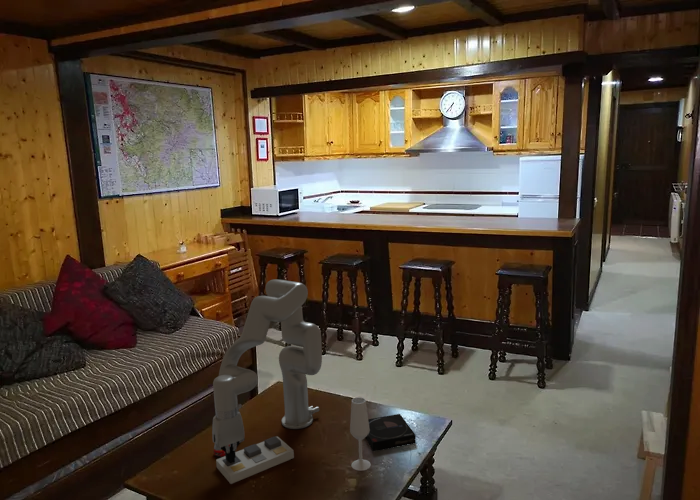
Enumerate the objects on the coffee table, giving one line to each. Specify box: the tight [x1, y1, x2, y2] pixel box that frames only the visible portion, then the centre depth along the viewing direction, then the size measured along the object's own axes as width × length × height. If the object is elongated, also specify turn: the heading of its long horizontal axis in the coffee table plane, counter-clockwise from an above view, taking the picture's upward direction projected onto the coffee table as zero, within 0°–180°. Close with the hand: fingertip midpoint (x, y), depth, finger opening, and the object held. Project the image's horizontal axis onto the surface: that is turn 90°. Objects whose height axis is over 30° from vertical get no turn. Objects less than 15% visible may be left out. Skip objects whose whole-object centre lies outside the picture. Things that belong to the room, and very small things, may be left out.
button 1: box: [223, 457, 240, 466], centre depth 185 cm, size 4×4×3 cm
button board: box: [215, 435, 295, 485], centre depth 188 cm, size 24×12×3 cm, turn 126°
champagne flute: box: [349, 396, 372, 472], centre depth 182 cm, size 7×7×24 cm
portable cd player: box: [364, 413, 417, 452], centre depth 202 cm, size 16×17×4 cm
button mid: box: [243, 443, 261, 458], centre depth 189 cm, size 4×4×3 cm
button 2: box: [263, 436, 281, 450], centre depth 194 cm, size 4×4×3 cm
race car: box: [213, 443, 241, 458], centre depth 198 cm, size 13×5×4 cm, turn 157°
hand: (230, 460), depth 185 cm, fingers closed
